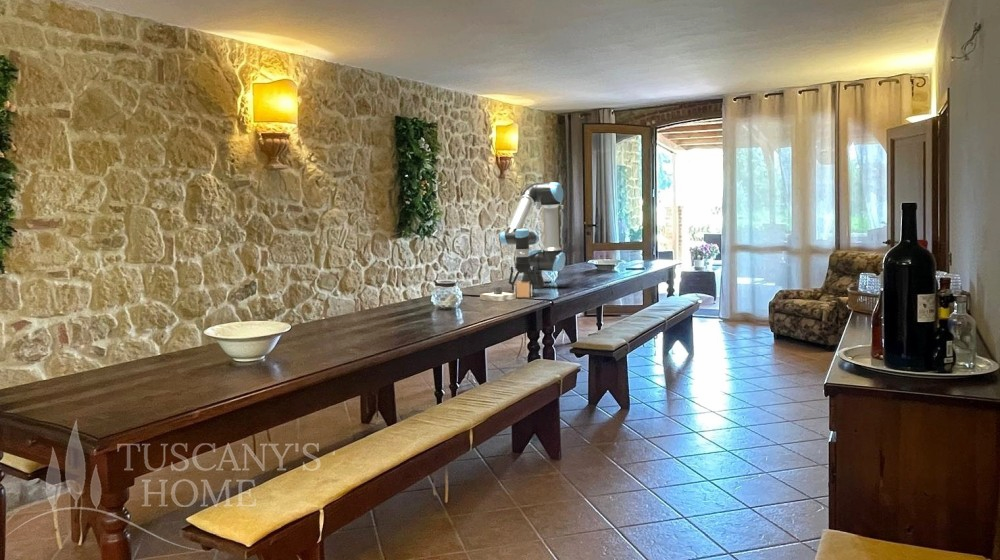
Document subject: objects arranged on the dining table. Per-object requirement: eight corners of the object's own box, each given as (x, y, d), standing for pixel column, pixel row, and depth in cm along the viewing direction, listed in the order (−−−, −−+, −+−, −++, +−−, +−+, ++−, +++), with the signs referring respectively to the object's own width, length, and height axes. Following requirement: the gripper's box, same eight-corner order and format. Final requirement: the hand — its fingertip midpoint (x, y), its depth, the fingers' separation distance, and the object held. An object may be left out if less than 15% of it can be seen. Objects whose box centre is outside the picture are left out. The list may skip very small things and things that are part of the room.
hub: (499, 296, 396) (499, 284, 395) (515, 299, 385) (515, 286, 384) (480, 299, 387) (479, 287, 386) (496, 301, 376) (496, 289, 376)
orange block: (517, 295, 399) (517, 281, 398) (529, 295, 399) (529, 281, 398) (516, 297, 392) (516, 283, 391) (529, 297, 392) (528, 283, 391)
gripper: (502, 257, 390) (503, 297, 392) (541, 256, 388) (542, 296, 391) (504, 256, 397) (504, 295, 400) (541, 255, 396) (542, 295, 398)
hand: (523, 296), depth 395 cm, fingers open, 9 cm apart
